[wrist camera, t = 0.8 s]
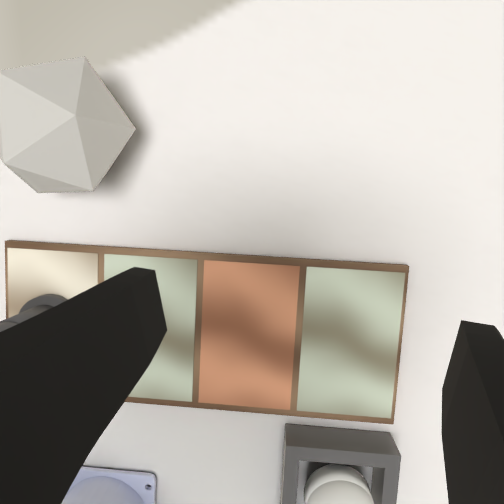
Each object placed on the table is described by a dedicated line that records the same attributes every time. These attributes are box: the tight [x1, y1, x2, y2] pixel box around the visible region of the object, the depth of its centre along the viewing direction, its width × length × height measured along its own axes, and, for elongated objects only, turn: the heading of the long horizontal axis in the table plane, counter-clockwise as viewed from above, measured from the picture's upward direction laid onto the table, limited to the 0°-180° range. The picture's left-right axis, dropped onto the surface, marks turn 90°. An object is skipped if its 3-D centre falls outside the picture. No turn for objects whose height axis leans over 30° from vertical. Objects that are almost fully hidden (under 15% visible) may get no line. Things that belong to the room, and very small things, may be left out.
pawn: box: [0, 294, 68, 332], centre depth 29 cm, size 4×4×7 cm
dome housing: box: [280, 424, 401, 504], centre depth 32 cm, size 8×8×3 cm
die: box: [0, 56, 136, 193], centre depth 28 cm, size 8×9×10 cm
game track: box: [5, 240, 409, 424], centre depth 32 cm, size 12×30×1 cm, turn 87°
